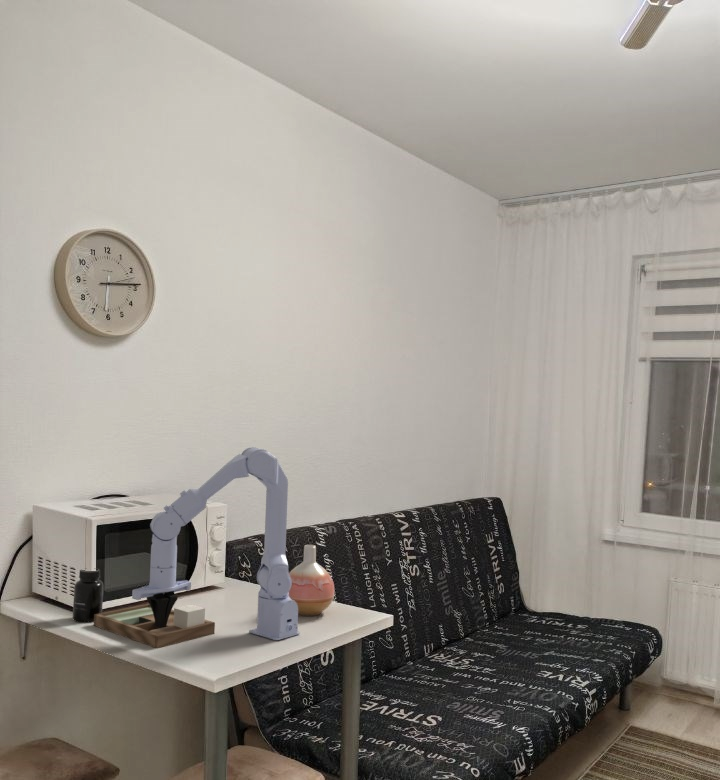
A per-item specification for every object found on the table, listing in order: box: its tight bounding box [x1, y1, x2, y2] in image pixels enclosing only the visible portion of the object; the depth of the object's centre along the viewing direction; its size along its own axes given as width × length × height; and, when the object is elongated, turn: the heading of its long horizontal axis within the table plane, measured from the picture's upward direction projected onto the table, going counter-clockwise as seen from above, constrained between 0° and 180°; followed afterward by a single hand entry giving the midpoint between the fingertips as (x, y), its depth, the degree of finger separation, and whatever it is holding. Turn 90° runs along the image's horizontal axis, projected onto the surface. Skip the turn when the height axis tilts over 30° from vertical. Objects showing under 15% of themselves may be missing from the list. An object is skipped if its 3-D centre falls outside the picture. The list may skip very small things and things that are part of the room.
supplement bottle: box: [72, 568, 104, 623], centre depth 190 cm, size 7×7×12 cm
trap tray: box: [93, 603, 216, 649], centre depth 183 cm, size 25×16×3 cm, turn 51°
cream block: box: [173, 604, 206, 629], centre depth 180 cm, size 5×5×4 cm
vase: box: [289, 544, 335, 617], centre depth 203 cm, size 14×14×18 cm
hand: (160, 626), depth 174 cm, fingers closed
